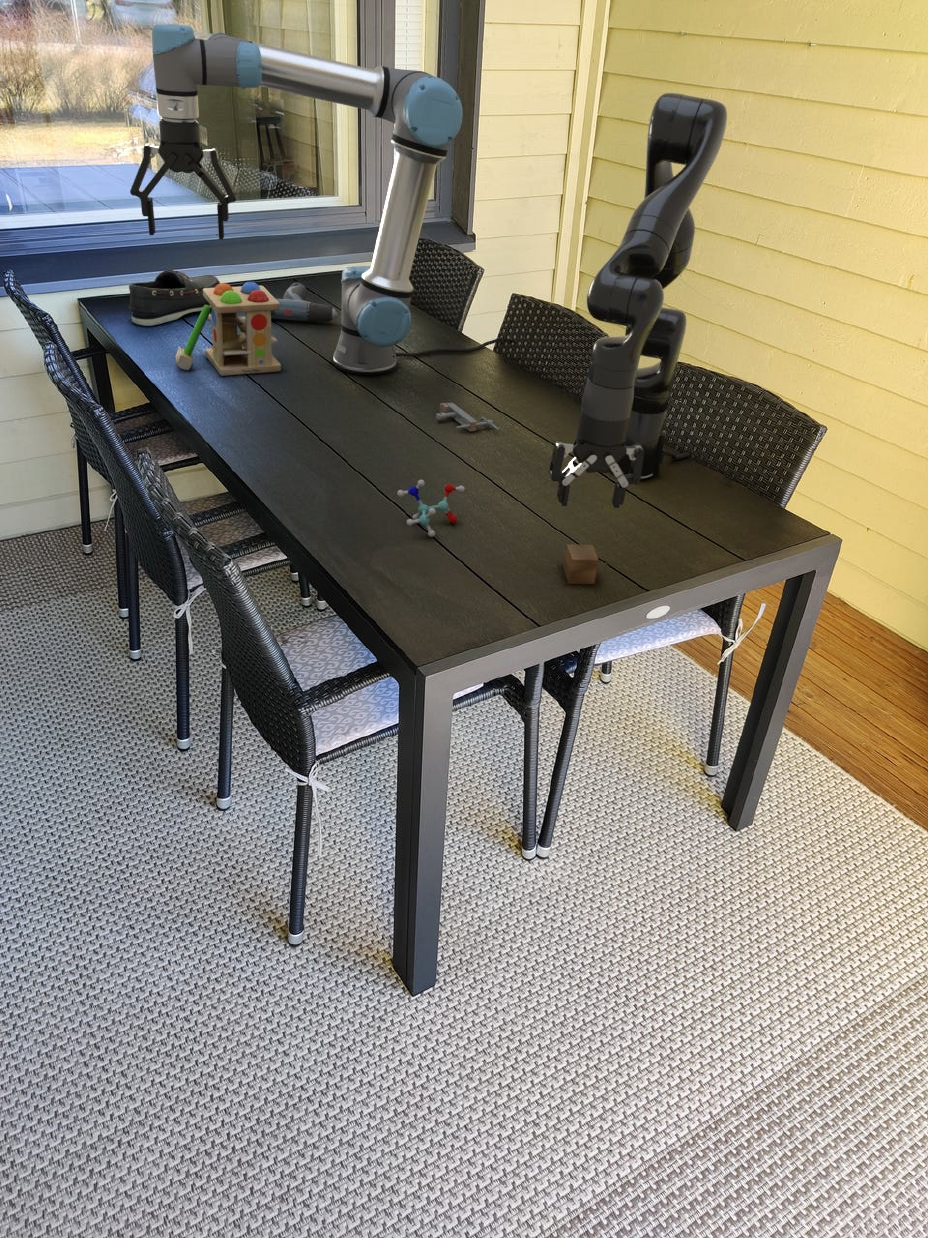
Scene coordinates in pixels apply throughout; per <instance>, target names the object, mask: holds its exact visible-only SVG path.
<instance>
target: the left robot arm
mask: <svg viewBox="0 0 928 1238" xmlns="http://www.w3.org/2000/svg"><path fill="white" fill-rule="evenodd" d="M151 45H152V46H151V47H152V51H151V52H152V62H153V71H154V82H155V96H156V107H157V108H156V109H157V115H158V116H159V117H160V119H159V120H158V130H159V146H155V145H152V144H151V143H149V142H148V143H145V145H144V146H143V149H142V150H143V152H142V153H143V154H142V155H143V157H142V160H141V163H140V165H139V168H138V170H137V173H136V176H135V178H134V180H133V183H132V185H131V188H130V191H129V194H130V195H131V196H134V197H137V198H138V199H139V200H140V208H141V215H142V216H143V217H147V222H148V235H149V236H154V235H155V234H156V223H155V213H154V212H155V211H154V199H153V197H149V195H150V194H151V193H152V191H153V190H154V189H155V188H156V186H157V185H158V184H159V182H161V180H162V179H163V177H164V176H165V175H166V174H167V172H168V171H169V170H170V171H171V172H173V173H177V174H178V173H184V174H192V173H193V172H194V173H195V174H196V176H197V177H199V178H200V180H201V181H202V182H203V183H204V185H205V186H206V187H207V188H208V189H209V190H210V192H211V193H212V194H213V195H214V197H215V198H216V199H217V201H219V202H218V203H217V204H216V211H217V224H218V225H217V227H218V229H217V230H218V240H221V241H222V240H224V238H225V226H224V225H225V224H224V223H225V222H226V223H227V222H228V221H229V217H230V216H229V204H231V203H235V202H236V201H237V198H238V195H237V193H236V191H235V189H234V187H233V185H232V183H231V181H230V179H229V177H228V175H227V173H226V171H225V168H224V167H223V166H222V163H221V161H220V156H219V150H218V149H217V148H215V147H213V148H212V149H203V148H202V147H203V146H202V143H201V129H200V128H201V127H200V122H199V121H198V120H197V119H198V118H199V117H200V111H199V109H200V108H199V95H198V86H214V87H225V88H226V87H227V88H240V89H242V90H245V89H256V88H259V87H262V88H267V89H271V90H276V91H279V92H285V93H289V94H293V95H299V96H302V97H307V98H312V99H315V100H321V101H325V102H330V103H335V104H339V105H344V106H347V107H352V108H357V109H361V110H366V111H368V113H369V115H370V116H371V117H373V118H377V119H382V120H385V121H388V122H390V123H392V124H394V127H393V132H392V136H391V141H390V143H391V144H392V146H393V148H394V150H395V157H394V162H393V166H392V171H391V174H390V179H389V183H388V187H387V188H388V189H387V191H386V192H387V193H386V197H385V202H384V206H383V211H382V215H381V220H380V223H379V229H378V232H377V237H376V242H375V246H374V251H373V255H372V261H371V264H370V265H352V266H347V267H345V268H344V269H343V270H342V273H341V280H340V283H341V319H340V321H341V324H340V325H341V326H340V329H341V330H340V336H339V338H338V341H337V344H336V348H335V350H334V352H333V361H332V362H333V363H332V364H333V366H334V367H335V368H337V369H338V370H339V371H342V372H344V373H347V374H352V375H356V376H380V375H381V376H382V375H386V374H389V373H391V372H393V371H395V369H396V368H397V361H398V359H397V357H405V358H406V357H407V358H413V357H421V356H425V355H429V354H435V353H470V352H477V351H479V350H481V349H483V348H485V347H487V346H490V345H493V344H496V343H498V342H502V341H509V342H510V343H513V342H512V341H510V340H508V339H504V340H502V337H503V336H500V337H501V338H500V337H497V338H494V339H492V340H489V341H486V342H483V343H481V344H480V345H478V346H474V347H468V348H450V347H447V348H445V347H444V348H443V347H442V348H441V347H440V348H433V349H428V350H423V351H419V352H395V347H394V346H395V345H397V344H399V343H401V342H402V341H403V340H404V339H405V338H406V337H407V335H408V334H409V332H410V329H411V327H412V314H411V310H410V305H411V301H412V297H413V293H414V286H413V284H412V283H411V280H410V275H411V271H412V268H413V263H414V259H415V254H416V252H417V248H418V242H419V239H420V234H421V232H422V231H421V230H422V227H423V221H424V218H425V213H426V211H427V210H426V209H427V206H428V201H429V198H430V193H431V189H432V186H433V181H434V177H435V173H436V169H437V166H438V164H439V163H441V162H442V161H443V160H445V159H446V158H447V155H448V151H449V146H450V143H451V142H452V141H453V140H454V138H456V137H457V135H458V133H459V132H460V129H461V127H462V123H463V117H464V115H463V114H464V113H463V105H462V101H461V99H460V97H459V95H458V93H457V92H456V91H455V89H454V88H453V87H452V85H451V84H449V83H448V82H447V81H446V80H445V79H443V78H440V77H438V76H434V75H432V74H431V73H428V72H426V71H422V70H414V69H402V68H395V67H389V66H383V65H377V66H376V67H375V68H374V69H372V68H368V67H364V66H360V65H355V64H351V63H346V62H342V61H337V60H335V59H330V58H325V57H320V56H317V55H312V54H307V53H303V52H299V51H295V50H292V49H291V50H290V49H286V48H282V47H277V46H274V45H269V44H265V43H261V42H257V41H250V40H247V39H243V38H239V37H234V36H231V35H230V34H228V33H225V32H217V33H213V34H211V35H210V36H208V37H207V38H206V39H204V38H203V39H201V38H196V35H195V31H194V29H193V27H191V26H189V25H184V24H176V23H156V24H155V25H153V27H152V28H151ZM157 154H158V155H159V157H160V158H161V159H162V161H163V162H164V163H163V164H162V166H160V168H159V169H158V171H156V173H155V174H154V176H153V177H152V179H151V180H150V181H149V182H148V184H147V185H146V186H145V187H144V189H140V188H141V186H142V183H143V181H144V179H145V176H146V174H147V172H148V169H149V166H150V164H151V161H152V159H154V158H155V157H156V155H157ZM204 158H206V159H207V162H208V163H211V165H212V168H213V169H214V171H215V173H216V176H217V177H218V180H219V181H220V183H221V185H222V187H223V189H224V191H223V190H222V188H220V187H219V185H218V184H217V183H216V181H215V180H214V179H213V178H212V177H211V175H210V174H209V173H208V172H207V170H206V169H205V167H204V166H203V165H202V164H201V161H202V160H203V159H204ZM224 192H225V193H226V194H225V193H224ZM499 338H500V340H499Z"/></svg>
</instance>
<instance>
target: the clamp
mask: <svg viewBox="0 0 928 1238" xmlns="http://www.w3.org/2000/svg"><path fill="white" fill-rule="evenodd" d="M449 418H452V419H453V420H455V421H456V422H457V423H458V424H460V425H457V426H455V429H456V430H459V429H460V430H461V429H462V430H463V429H467V431H469V432H475V431H477V427H483V426H485V427H492V428H494V429H495V430H496V432H497V433H501V431H502V428H501V427H498V426H496V425H495V424H494V421H493V419H487V418H486V417H485V415H482V416H481V417H480V420H481V421H480V422H479V421H478V420H476V419H475V418H474V417H472V416H471V415H470V414H468V413H467V412H466V411H464V410H463V409H462V408H461V407H459V406H458V405H457V404H455V403H454V402H447V403H446V402H443V403H439V412H438V413H436V414H435V419H436V420H438V421H443V420H447V419H449Z"/></svg>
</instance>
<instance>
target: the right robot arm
mask: <svg viewBox="0 0 928 1238" xmlns="http://www.w3.org/2000/svg"><path fill="white" fill-rule="evenodd" d="M727 121H728V112H727V107H726V105H725V104H723V103H722V102H720V101H717V100H713V99H709V98H703V97H698V96H692V95H686V94H683V93H679V92H678V93H677V92H666V93H663V94H661V95H660V96H659V97H658V98H657V100H656V101H655V103H654V105H653V107H652V110H651V113H650V117H649V123H648V129H647V131H648V132H647V139H646V140H647V141H646V157H645V161H646V162H645V184H644V186H645V187H644V196H643V200H642V201H641V202H640V203H639V204H638V206H636V208H635V209H634V211H633V212H632V214H631V217H630V219H629V222H628V223H627V226H626V229H625V231H624V234H623V237H622V240H621V242H620V244H619V246H618V247H617V249H616V250H615V251H614V253H613V254H612V255H611V256H610V258H609V259H608V260H607V262H605V263H604V264H603V266H602V267H601V268H600V269H599V270H598V272H597V273H596V275H595V276H594V277H593V279H592V281H591V283H590V286H589V288H588V291H587V294H586V306H587V307H586V308H587V310H588V312H589V315H590V316H591V317H592V318H593V319H595V320H596V321H599V322H604V323H608V324H613V325H617V326H623V327H625V333H624V335H623V336H622V335H621V336H605V337H601V338H599V339H597V340H596V341H595V342H594V344H593V346H592V349H591V355H590V361H589V367H588V372H587V373H588V374H587V380H586V383H585V387H584V390H583V394H582V399H581V402H580V406H581V407H580V413H579V419H578V426H577V432H576V439H575V440H574V441H573V443H565V442H563V441H562V440H561V439H557V440H556V441H554V445H553V450H552V455H551V460H550V464H549V469H548V474H549V476H550V480H551V481H552V482H557V483H558V488H557V492H556V493H557V494H556V496H557V500H558V503H560V504H561V507H567V506H568V501H569V494H570V489H571V485H570V484H571V483H572V482H573V481H574V480H575V479H576V478H579V477H580V476H581V475H582V474H583V473H584V472H586V473H589V474H592V473H593V474H594V473H600V474H607V473H608V472H610V473H611V474H613V475H614V477H615V478H616V481H615V484H614V487H613V494H612V499H611V504H612V506H613V508H614V509H619V508H620V505H621V506H622V505H623V504H624V502H625V498H626V493H627V488H628V487H629V486H631V485H635V486H636V485H639V484H640V483H641V481H645V480H651V478H658V474H659V470H660V465H663V463H664V458H665V456H670V457H671V459H672V460H674V461H679V460H683V459H686V458H689V457H690V453H689V452H683V453H679V454H676V453H675V452H674V451H672V450H666V449H665V448H664V446H665V441H666V437H667V432H666V431H665V430H664V427H665V423H666V417H667V414H668V413H667V412H668V407H669V403H670V398H671V394H672V390H673V385H674V384H673V383H674V378H675V374H676V369H677V364H678V360H679V357H680V353H681V349H682V346H683V342H684V339H685V334H686V330H687V315H686V313H685V312H684V311H683V310H680V309H674V308H668V307H663V306H664V302H665V293H664V290H665V289H666V288H667V287H668V286H669V285H671V284H673V282H674V281H675V280H676V279H678V278H679V277H680V276H681V275H682V273H683V272H684V271H685V269H686V268H687V267H688V265H689V264H690V262H691V261H690V260H691V256H692V252H693V251H692V250H693V245H694V240H695V234H696V224H695V219H694V216H693V214H692V210H691V208H690V206H691V204H692V203H693V202H694V200H695V198H696V196H697V195H698V193H699V191H700V189H701V187H702V186H703V184H704V182H705V181H706V178H707V176H708V174H709V172H710V170H711V169H712V167H713V165H714V163H715V161H716V159H717V157H718V155H719V152H720V150H721V147H722V143H723V142H724V141H723V140H724V139H725V138H724V137H725V133H726V129H727ZM672 164H677V165H680V166H681V165H682V166H683V168H682V169H681V170H679V172H678V173H677V174H675V175H674V172H673V166H672ZM641 357H646V358H652V359H656V360H657V359H658V360H660V361H658V362H657V363H655V364H653V365H649V366H645V367H639V363H640V359H641ZM570 453H572V454H573V455H574V457H573V458H572V459H571V460H570V461H569V462H568V464H567V466H566V467H565V468H564V469H563V470H562V467H563V462H564V459H566V458H567V457H568V456H569V454H570Z"/></svg>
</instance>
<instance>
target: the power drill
mask: <svg viewBox="0 0 928 1238" xmlns="http://www.w3.org/2000/svg"><path fill="white" fill-rule="evenodd" d="M307 295H308V290H307V287H306V285H304V284H303V283H301V282H293V283H292V284H291V285H290V286H289V287H288V288H287V289H286V291H285V292H284V294H283V297H282V298H275V299H276V300H277V301H278V302H279V303H280V310H271V319H274V320H275V319H276V320H283V321H294V322H295V321H297V322H332V321H333V320H334V319H336V318H337V317H338V312H337V311H336V308H334V307H333V306H332V305H331V304H324V303H317V302H313V301H307V300H305V299H306V297H307Z"/></svg>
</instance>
